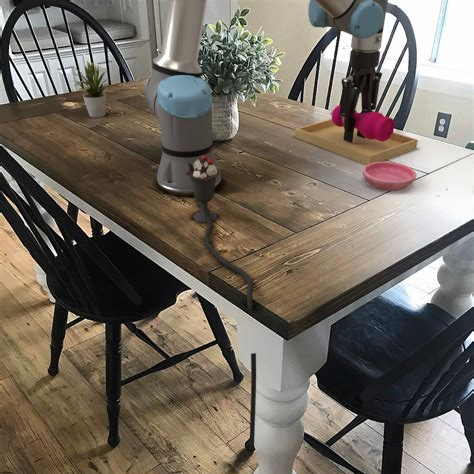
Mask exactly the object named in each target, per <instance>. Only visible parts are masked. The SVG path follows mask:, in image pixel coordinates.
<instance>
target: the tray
mask: <svg viewBox="0 0 474 474" xmlns="http://www.w3.org/2000/svg"><path fill="white" fill-rule="evenodd" d="M344 131H345V129H344V127H339V126H336V125H335V124H334V123H333V121H332V118H328V119H325V120H321V121H318V122H315V123H314V122H313V123H311V124H307V125H303V126H300V127H297V128H295V130H294V137H295V138H296V139H299V140H302V141H304V142H306V143H309V144H312V145H314V146H316V147H320V148H322V149H325V150H327V151H330V152H333V153H335V154H337V155H340V156H343V157H345V158H348V159H351V160H353V161H355V162H358V163H361V164H363V165H365V166H366V165H367V164H370V163H374V162H385V161H386V160H389V159H391V158H395V157H397V156H400V155H403V154H405V153H408V152H411V151H414V150H417V147H418V142H419V139H416V138H414V137H410V136H408V135H405V134H402V133H398V132H395V131H393V133H392V135H391V137H390V138H389V139H388V140H387V141H384V142H382V141H379V140H376V139H374V140H370V139H367V138H361V137H359V136H357V129H356V128H354V134H353V142H351V143H350V142H348V141H345V140H343V139H344Z"/></svg>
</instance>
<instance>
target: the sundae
mask: <svg viewBox="0 0 474 474" xmlns="http://www.w3.org/2000/svg"><path fill="white" fill-rule="evenodd" d="M210 150H213V151H214V150H215V148H214V147H213V148H210ZM211 152H212V151H211ZM211 152H210V154H211ZM208 153H209V152H208ZM208 153H207V154H208ZM207 154H206V155H207ZM206 155H203V156H202V158H200V159H198V160H197V161H196V162H195V163H194V167H193V166H192V164H191V163H187V164H188V166H189V168H190V169H189V170H188V172H187V173H186V175H188V176H190V178H191V181H192V186H193V192H194V195H195V196H194V198H195V199H196V200H197V202H198V201H200V202H201V203H202V210H200V211H198V212H196V213H194V215H193V219H194V221H196V222H199V223H207V220H206V217H205V216H206V215H207V214H208V215H209V216H210V218H211V222H213V221H215V220H216V219H217V216H218V215H217V214H216V213H215V212H213V211H209V207H208V203H209V202H210V201H211V200H212V199H213V198H214V196H215V191H216V190H215V182H216V177H217V176H218V175H220V173H221V171H220V172H219V170H220V169H219V170H218V169H217V168H216V167H215V165H214V164H212V163H213V160H212V159H211V158H210V159H207V156H206ZM209 157H210V156H209Z"/></svg>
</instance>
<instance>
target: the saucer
mask: <svg viewBox="0 0 474 474" xmlns="http://www.w3.org/2000/svg"><path fill="white" fill-rule="evenodd" d="M361 171H362V176H363V178H364V179H365V180H366V181H367V183H368V184H369V185H370V186H371V187H373V188H375V189H378V190H382V191H388V192H394V191H395V192H396V191H402V190H404V189H406V188H407V187H408V186H411V185H412V183H414V182H415V181H416V179H417V173H416V171H415V170H414V169H413V168H411V167H410V166H408V165H406V164H402V163H398V162H393V161H381V162H374V163H370V164H367V165H366V164H365V166H363V168H362V170H361Z"/></svg>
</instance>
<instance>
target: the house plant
mask: <svg viewBox="0 0 474 474" xmlns="http://www.w3.org/2000/svg"><path fill="white" fill-rule="evenodd" d="M69 67H71V68H74V70H75V71H77V72H76V73H75V72H74V71H72V75H73V76H77V77H78V78H79V79H81V81H78V80H71V82H75V84H74V85H73V86H72V87H73V88H74V87H76V86H79V89H78V92H80V91H82V93H83V95H82V96H83V97H82V98H83V100H84V104H85V107H86V109H87V112H88V116H89V117H90V118H103V117H105V116H106V115H107V93H105V92H103V91H104V90H105V89H108V90H109V89H110V88H109V87H108V86H107V87H104V83H105V82H107V81H111V79H109V78H108V79H104V80H103V81H102V79H103V77H104V75H105V74H106V72H107V70H105V71H104V72H102V73H101V75H100V67H99V66H97V64H96V63H95V61H93V62H91V63H90V62H89V61H88V60H87V61H86V65H85V66H84V70H85V76H84V75H83V73H82V72H81V71H80V70H79V69H78V68H77V67H75V66H71V65H69ZM84 92H86V93H84Z"/></svg>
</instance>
